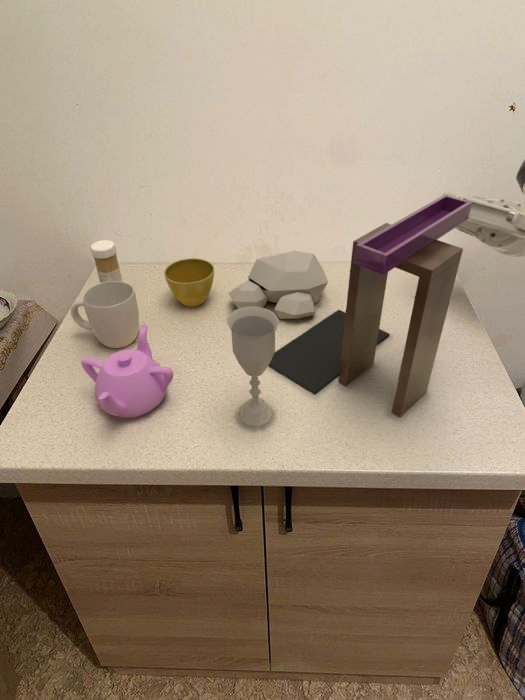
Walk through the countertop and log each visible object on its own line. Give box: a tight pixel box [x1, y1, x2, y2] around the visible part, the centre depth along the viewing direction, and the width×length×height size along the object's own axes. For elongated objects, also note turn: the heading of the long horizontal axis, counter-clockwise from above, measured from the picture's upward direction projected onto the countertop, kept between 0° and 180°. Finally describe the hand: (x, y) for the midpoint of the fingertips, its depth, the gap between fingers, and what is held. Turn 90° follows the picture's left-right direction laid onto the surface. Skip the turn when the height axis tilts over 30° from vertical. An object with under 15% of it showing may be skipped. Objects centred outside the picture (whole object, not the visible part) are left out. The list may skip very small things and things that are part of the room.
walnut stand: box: [338, 222, 464, 418], centre depth 76 cm, size 8×12×26 cm, turn 46°
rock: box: [228, 250, 329, 320], centre depth 102 cm, size 18×20×10 cm
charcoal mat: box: [268, 309, 391, 395], centre depth 92 cm, size 22×12×1 cm, turn 136°
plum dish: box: [354, 195, 472, 275], centre depth 68 cm, size 22×4×3 cm, turn 136°
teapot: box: [80, 323, 174, 419], centre depth 80 cm, size 12×14×9 cm
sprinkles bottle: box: [90, 239, 124, 283], centre depth 101 cm, size 5×5×14 cm
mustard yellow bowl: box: [163, 257, 215, 308], centre depth 103 cm, size 10×10×7 cm
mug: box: [70, 281, 140, 349], centre depth 93 cm, size 13×9×10 cm
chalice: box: [226, 307, 280, 427], centre depth 74 cm, size 7×7×18 cm
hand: (483, 208), depth 83 cm, fingers open, 8 cm apart
